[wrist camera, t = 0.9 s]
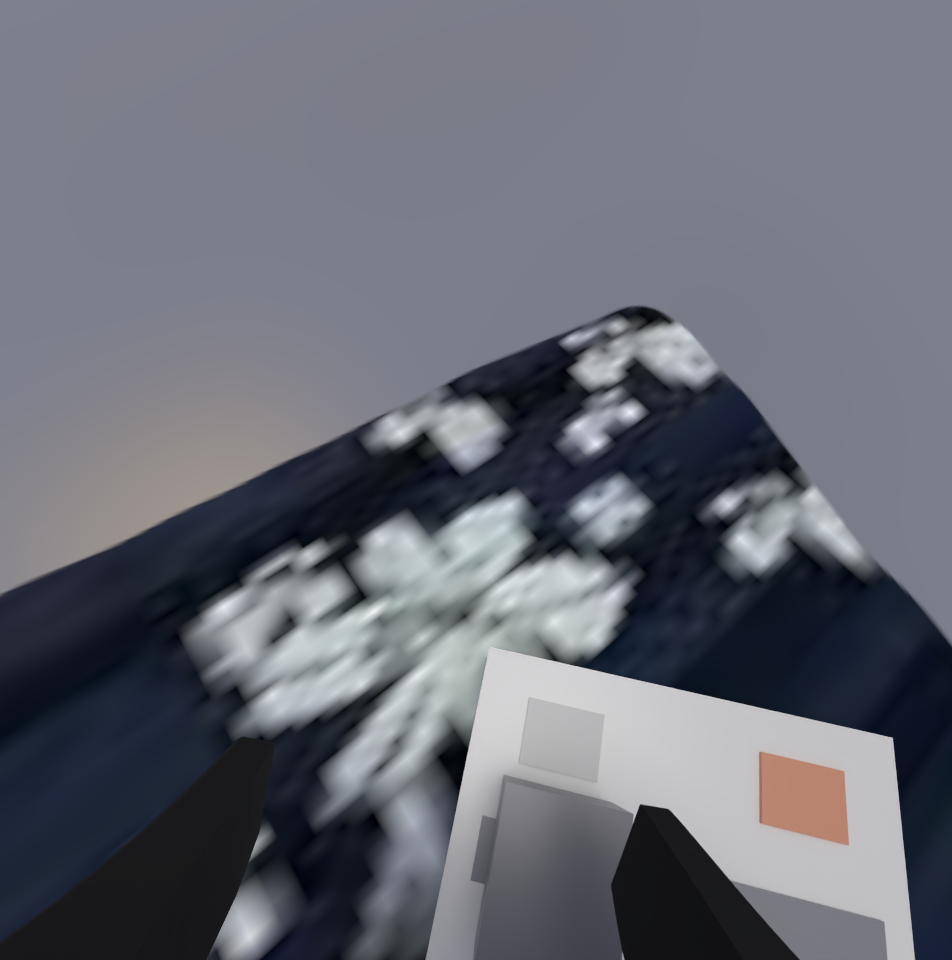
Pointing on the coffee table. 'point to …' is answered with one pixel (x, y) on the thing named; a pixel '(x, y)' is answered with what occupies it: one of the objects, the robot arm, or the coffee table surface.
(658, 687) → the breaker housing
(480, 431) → the coffee table surface
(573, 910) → the switch lever
